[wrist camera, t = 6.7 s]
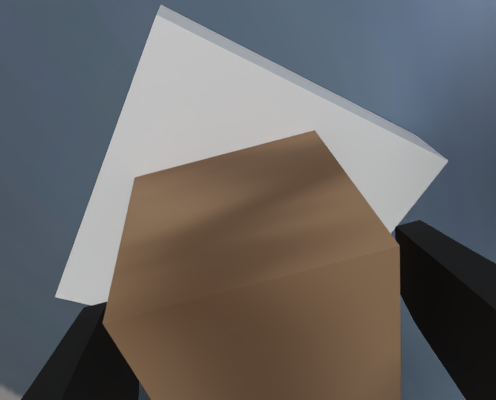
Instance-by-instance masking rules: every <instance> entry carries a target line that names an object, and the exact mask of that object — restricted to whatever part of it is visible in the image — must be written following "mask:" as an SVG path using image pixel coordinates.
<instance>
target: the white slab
mask: <svg viewBox="0 0 496 400" xmlns="http://www.w3.org/2000/svg"><path fill="white" fill-rule="evenodd" d="M314 130H315V131H316V132H317V134H318V135H319V137H320V138H321V139H322V141H323V142H324V143H325V145H326V146H327V147H328V149H329V150H330V152H331V153H332V154H333V156H334V157H335V158H336V160H337V161H338V162H339V164H340V165H341V167H342V168H343V169H344V171H345V172H346V173H347V175H348V176H349V177H350V179H351V180H352V182H353V183H354V184H355V186H356V187H357V188H358V190H359V191H360V192H361V194H362V195H363V197H364V198H365V199H366V201H367V202H368V203H369V205H370V206H371V208H372V209H373V210H374V212H375V213H376V214H377V216H378V217H379V218H380V220H381V221H382V223H383V224H384V225H385V227H386V228H387V229H388V231H389V232H390V233H392V231H393V230H394V229H395V226H397V225H398V224H399V223H400V221H401V220H402V219H403V218H404V216H405V215H406V214H407V213H408V211H409V210H410V209H411V207H412V206H413V205H414V204H415V202H416V201H417V200H418V199H419V197H420V196H421V195H422V194H423V192H424V191H425V190H426V189H427V187H428V186H429V185H430V184H431V182H432V181H433V180H434V179H435V177H436V176H437V175H438V174H439V172H440V171H441V170H442V169H443V167H444V166H445V165H446V164H447V162H448V160H447V159H445V158H444V157H443V156H442V155H440V154H439V153H438V152H437V151H435V150H434V149H433V148H431V147H430V146H429V145H428V144H426V143H425V142H424V141H423V140H421V139H420V138H419V137H418V136H416V135H415V134H413V133H411V132H409V131H407V130H405V129H403V128H401V127H399V126H397V125H395V124H393V123H391V122H389V121H387V120H385V119H383V118H382V117H380V116H378V115H376V114H374V113H372V112H370V111H368V110H366V109H364V108H362V107H360V106H358V105H356V104H354V103H352V102H350V101H348V100H346V99H344V98H342V97H341V96H339V95H337V94H335V93H333V92H331V91H329V90H327V89H325V88H323V87H321V86H319V85H317V84H315V83H313V82H311V81H309V80H307V79H305V78H303V77H301V76H299V75H298V74H296V73H294V72H292V71H290V70H288V69H286V68H284V67H282V66H280V65H278V64H276V63H274V62H272V61H270V60H268V59H266V58H264V57H262V56H260V55H258V54H256V53H255V52H253V51H251V50H249V49H247V48H245V47H243V46H241V45H239V44H237V43H235V42H233V41H231V40H229V39H227V38H225V37H223V36H221V35H219V34H217V33H215V32H213V31H212V30H210V29H208V28H206V27H204V26H202V25H200V24H198V23H196V22H194V21H192V20H190V19H188V18H186V17H184V16H182V15H180V14H178V13H176V12H174V11H172V10H170V9H169V8H167V7H165V6H163V5H161V6H160V8H159V10H158V12H157V15H156V17H155V20H154V23H153V26H152V28H151V31H150V34H149V37H148V40H147V42H146V45H145V48H144V51H143V53H142V56H141V59H140V62H139V65H138V67H137V70H136V73H135V76H134V78H133V81H132V84H131V87H130V90H129V92H128V95H127V98H126V101H125V104H124V106H123V109H122V112H121V115H120V117H119V120H118V123H117V126H116V129H115V131H114V134H113V137H112V140H111V142H110V145H109V148H108V151H107V154H106V156H105V159H104V162H103V165H102V168H101V170H100V173H99V176H98V179H97V181H96V184H95V187H94V190H93V193H92V195H91V198H90V201H89V204H88V206H87V209H86V212H85V215H84V218H83V220H82V223H81V226H80V229H79V231H78V234H77V237H76V240H75V243H74V245H73V248H72V251H71V254H70V257H69V259H68V262H67V265H66V268H65V270H64V273H63V276H62V279H61V282H60V284H59V287H58V290H57V293H56V295H55V297H57V298H62V299H66V300H70V301H75V302H79V303H83V304H88V305H96V304H100V303H103V302H107V301H108V296H109V292H110V287H111V282H112V278H113V273H114V269H115V264H116V260H117V255H118V251H119V246H120V242H121V237H122V233H123V228H124V223H125V219H126V214H127V210H128V205H129V201H130V196H131V192H132V187H133V183H134V178H135V177H138V176H142V175H146V174H149V173H153V172H157V171H161V170H165V169H168V168H172V167H176V166H180V165H184V164H188V163H191V162H195V161H199V160H203V159H207V158H210V157H214V156H218V155H222V154H226V153H230V152H233V151H237V150H241V149H245V148H249V147H253V146H256V145H260V144H264V143H268V142H272V141H275V140H279V139H283V138H287V137H291V136H295V135H298V134H302V133H306V132H310V131H314Z"/></svg>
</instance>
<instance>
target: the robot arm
mask: <svg viewBox="0 0 496 400" xmlns="http://www.w3.org/2000/svg"><path fill="white" fill-rule="evenodd" d="M395 237H396V242H397V243H398V244H399V246H400V294H401V296H402V298H403V300H404V302H405V304H406V306H407V308H408V310H409V312H410V314H411V316H412V318H413V320H414V322H415V323H416V325H417V326H418V328H419V330H420V331H421V333H422V334H423V336H424V337H425V339H426V340H427V342H428V343H429V345H430V346H431V348H432V349H433V351H434V352H435V354H436V355H437V357H438V358H439V360H440V361H441V363H442V364H443V366H444V367H445V369H446V370H447V372H448V373H449V375H450V376H451V378H452V379H453V381H454V382H455V384H456V385H457V387H458V388H459V390H460V391H461V393H462V394H463V396H464V397H465V399H466V400H496V264H495V263H493V262H491V261H490V260H488V259H486V258H484V257H482V256H481V255H479V254H477V253H475V252H474V251H472V250H470V249H468V248H467V247H465V246H463V245H462V244H460V243H458V242H456V241H455V240H453V239H451V238H450V237H448V236H446V235H444V234H443V233H441V232H439V231H438V230H436V229H434V228H433V227H431V226H429V225H427V224H426V223H424V222H422V221H420V220H418V221H415V222H411V223H407V224H403V225H399V226H395ZM106 305H107V302H103V303H100V304H96V305H92V306H88V307H84V308H83V310H82V311H81V312H80V314H79V315H78V317H77V318H76V320H75V321H74V322H73V324H72V325H71V327H70V328H69V330H68V331H67V333H66V334H65V336H64V337H63V339H62V340H61V342H60V343H59V345H58V346H57V348H56V350H55V351H54V353H53V354H52V356H51V357H50V358H49V360H48V361H47V363H46V364H45V366H44V367H43V369H42V370H41V372H40V373H39V375H38V376H37V377H36V379H35V380H34V382H33V383H32V385H31V386H30V388H29V389H28V391H27V392H26V393H25V395H24V396H23V398H22V399H21V400H138V396H139V380H138V378H137V377H136V375H135V374H134V372H133V370H132V369H131V367H130V366H129V364H128V363H127V361H126V360H125V358H124V356H123V355H122V353H121V352H120V350H119V349H118V347H117V345H116V344H115V342H114V341H113V339H112V338H111V336H110V334H109V333H108V331H107V330H106V328H105V327H104V325H103V319H104V314H105V310H106Z"/></svg>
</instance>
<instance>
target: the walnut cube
mask: <svg viewBox="0 0 496 400" xmlns="http://www.w3.org/2000/svg"><path fill="white" fill-rule="evenodd" d="M103 325H104V327H105V328H106V330H107V331H108V333H109V334H110V336H111V338H112V339H113V341H114V342H115V344H116V345H117V347H118V349H119V350H120V352H121V353H122V355H123V356H124V358H125V360H126V361H127V363H128V364H129V366H130V367H131V369H132V370H133V372H134V374H135V375H136V377H137V378H138V380H139V381H140V383H141V385H142V386H143V388H144V389H145V391H146V392H147V394H148V396H149V397H150V399H151V400H401V325H400V246H399V244H398V243H397V242H396V240H395V239H394V238H393V236H392V235H391V233H390V232H389V231H388V229H387V228H386V227H385V225H384V224H383V223H382V221H381V220H380V218H379V217H378V216H377V214H376V213H375V212H374V210H373V209H372V208H371V206H370V205H369V203H368V202H367V201H366V199H365V198H364V197H363V195H362V194H361V192H360V191H359V190H358V188H357V187H356V186H355V184H354V183H353V182H352V180H351V179H350V177H349V176H348V175H347V173H346V172H345V171H344V169H343V168H342V167H341V165H340V164H339V162H338V161H337V160H336V158H335V157H334V156H333V154H332V153H331V152H330V150H329V149H328V147H327V146H326V145H325V143H324V142H323V141H322V139H321V138H320V137H319V135H318V134H317V132H316V131H315V130H314V131H310V132H306V133H302V134H298V135H295V136H291V137H287V138H283V139H279V140H275V141H272V142H268V143H264V144H260V145H256V146H253V147H249V148H245V149H241V150H237V151H233V152H230V153H226V154H222V155H218V156H214V157H210V158H207V159H203V160H199V161H195V162H191V163H188V164H184V165H180V166H176V167H172V168H168V169H165V170H161V171H157V172H153V173H149V174H146V175H142V176H138V177H135V178H134V183H133V187H132V192H131V196H130V201H129V205H128V210H127V214H126V219H125V223H124V228H123V233H122V237H121V242H120V246H119V251H118V255H117V260H116V264H115V269H114V273H113V278H112V282H111V287H110V292H109V296H108V301H107V305H106V310H105V314H104V319H103Z"/></svg>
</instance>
